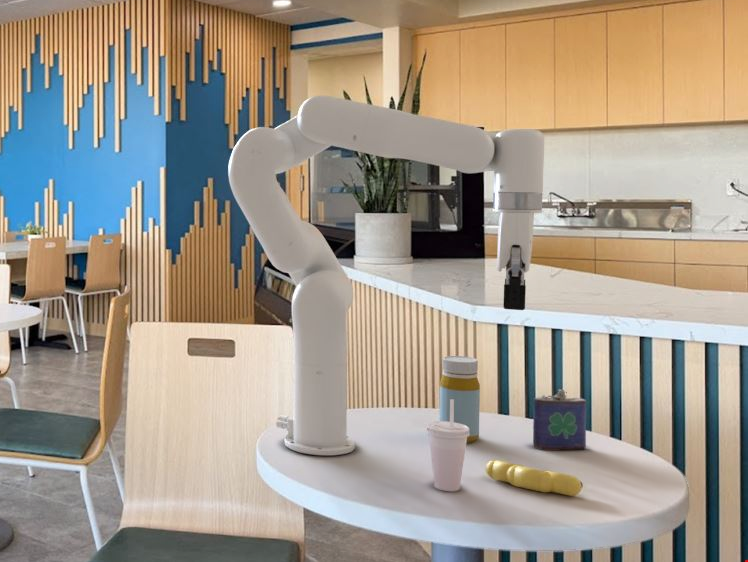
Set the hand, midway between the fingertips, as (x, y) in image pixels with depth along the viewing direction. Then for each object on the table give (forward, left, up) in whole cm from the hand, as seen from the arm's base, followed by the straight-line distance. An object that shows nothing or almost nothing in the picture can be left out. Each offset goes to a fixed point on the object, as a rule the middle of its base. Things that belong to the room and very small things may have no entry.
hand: (514, 305), depth 145 cm
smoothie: (-4, -17, -28) cm, 33 cm away
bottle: (-13, +11, -28) cm, 32 cm away
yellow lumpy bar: (+6, -9, -27) cm, 29 cm away
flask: (+3, +17, -28) cm, 32 cm away
